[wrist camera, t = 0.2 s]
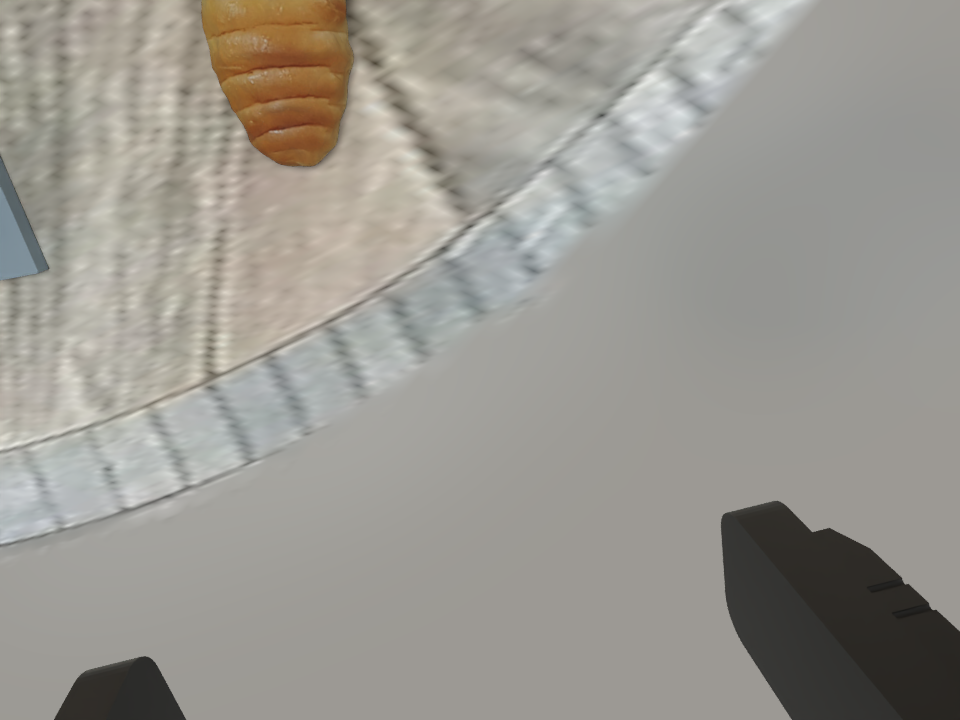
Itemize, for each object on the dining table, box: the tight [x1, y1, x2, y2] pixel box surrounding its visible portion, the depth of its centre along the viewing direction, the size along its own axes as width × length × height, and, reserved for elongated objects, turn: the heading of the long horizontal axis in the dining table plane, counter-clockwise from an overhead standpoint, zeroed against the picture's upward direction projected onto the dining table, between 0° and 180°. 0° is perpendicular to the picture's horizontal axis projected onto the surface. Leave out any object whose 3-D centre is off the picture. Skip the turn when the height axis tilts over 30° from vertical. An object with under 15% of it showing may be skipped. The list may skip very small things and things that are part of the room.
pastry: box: [201, 0, 354, 166], centre depth 30 cm, size 9×7×4 cm
